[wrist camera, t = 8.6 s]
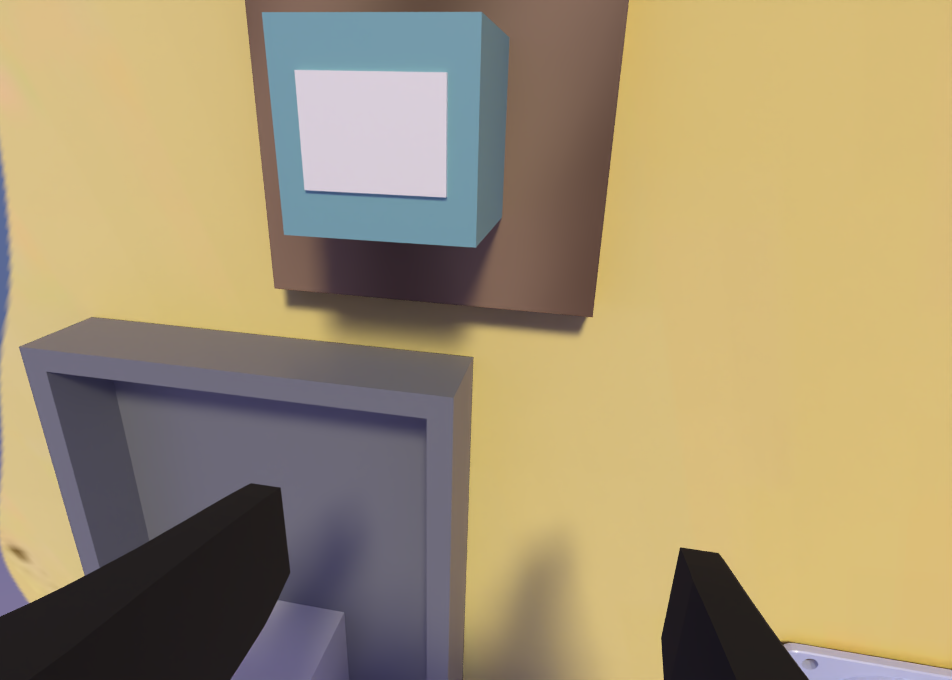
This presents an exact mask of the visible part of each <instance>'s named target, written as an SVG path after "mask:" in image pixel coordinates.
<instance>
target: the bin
mask: <svg viewBox="0 0 952 680" xmlns="http://www.w3.org/2000/svg"><path fill="white" fill-rule="evenodd" d="M19 348H20V352H21V355H22V359H23V362H24V366H25V369H26V373H27V376H28V380H29V383H30V387H31V390H32V394H33V397H34V401H35V404H36V408H37V411H38V415H39V418H40V421H41V425H42V428H43V432H44V435H45V439H46V442H47V446H48V449H49V453H50V456H51V460H52V463H53V467H54V470H55V474H56V477H57V481H58V484H59V488H60V491H61V494H62V498H63V501H64V505H65V508H66V512H67V515H68V519H69V522H70V526H71V529H72V533H73V536H74V540H75V543H76V547H77V550H78V554H79V557H80V561H81V564H82V567H83V571H84V574H85V576H86V575H87V574H89V573H91V572H93V571H95V570H97V569H99V568H101V567H102V566H104V565H106V564H108V563H110V562H112V561H114V560H116V559H117V558H119V557H121V556H123V555H125V554H127V553H129V552H130V551H132V550H134V549H136V548H138V547H140V546H141V545H143V544H145V543H147V542H148V541H150V540H152V539H154V538H155V537H157V536H159V535H160V534H162V533H164V532H166V531H167V530H169V529H171V528H173V527H174V526H176V525H178V524H180V523H181V522H183V521H185V520H186V519H188V518H190V517H192V516H193V515H195V514H197V513H198V512H200V511H202V510H204V509H205V508H207V507H209V506H210V505H212V504H214V503H216V502H217V501H219V500H221V499H223V498H224V497H226V496H228V495H230V494H231V493H233V492H235V491H237V490H239V489H241V488H243V487H244V486H246V485H248V484H250V483H254V484H260V485H267V486H274V487H280V488H281V494H282V503H283V512H284V520H285V529H286V538H287V547H288V555H289V564H290V575H289V577H288V579H287V581H286V583H285V586H284V588H283V590H282V592H281V594H280V596H279V598H278V600H280V601H285V602H291V603H296V604H302V605H307V606H312V607H318V608H323V609H329V610H334V611H340V612H344V616H345V630H346V644H347V658H348V672H349V680H463V652H464V622H465V592H466V562H467V532H468V502H469V472H470V442H471V412H472V382H473V357H467V356H458V355H448V354H439V353H429V352H419V351H410V350H400V349H391V348H381V347H372V346H362V345H353V344H343V343H334V342H324V341H315V340H305V339H296V338H286V337H277V336H267V335H257V334H248V333H238V332H229V331H219V330H210V329H200V328H191V327H181V326H172V325H162V324H153V323H143V322H134V321H124V320H114V319H105V318H95V317H91V318H89V319H86V320H84V321H81V322H79V323H76V324H74V325H71V326H69V327H67V328H64V329H62V330H59V331H57V332H54V333H52V334H49V335H47V336H44V337H42V338H40V339H37V340H35V341H32V342H30V343H27V344H25V345H22V346H20V347H19Z"/></svg>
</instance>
